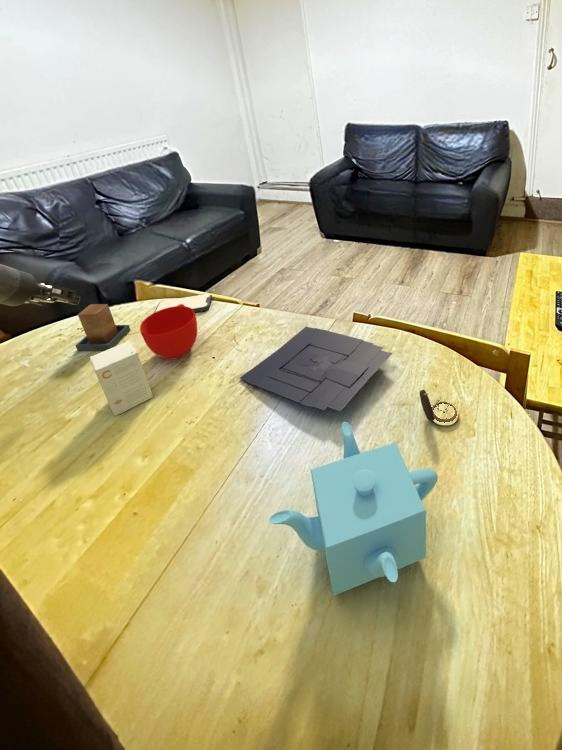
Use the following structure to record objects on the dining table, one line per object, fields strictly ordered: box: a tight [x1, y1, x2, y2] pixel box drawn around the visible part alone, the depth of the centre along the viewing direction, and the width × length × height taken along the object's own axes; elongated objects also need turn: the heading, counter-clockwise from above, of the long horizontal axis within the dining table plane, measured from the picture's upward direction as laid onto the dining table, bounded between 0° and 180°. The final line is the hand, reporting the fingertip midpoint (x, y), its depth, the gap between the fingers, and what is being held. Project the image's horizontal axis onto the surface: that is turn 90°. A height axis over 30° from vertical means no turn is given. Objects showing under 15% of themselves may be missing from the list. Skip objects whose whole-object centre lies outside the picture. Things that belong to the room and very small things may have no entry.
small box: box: [89, 340, 154, 417], centre depth 92 cm, size 8×6×13 cm
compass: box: [419, 389, 457, 423], centre depth 86 cm, size 8×8×7 cm
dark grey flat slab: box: [239, 326, 393, 412], centre depth 100 cm, size 24×30×4 cm
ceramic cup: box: [139, 304, 198, 360], centre depth 110 cm, size 13×17×10 cm
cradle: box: [74, 324, 131, 352], centre depth 115 cm, size 9×9×2 cm
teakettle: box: [268, 421, 439, 597], centre depth 62 cm, size 19×19×15 cm
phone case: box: [153, 293, 213, 313], centre depth 129 cm, size 9×2×16 cm
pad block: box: [77, 303, 118, 344], centre depth 113 cm, size 5×5×10 cm
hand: (61, 301), depth 101 cm, fingers open, 8 cm apart
